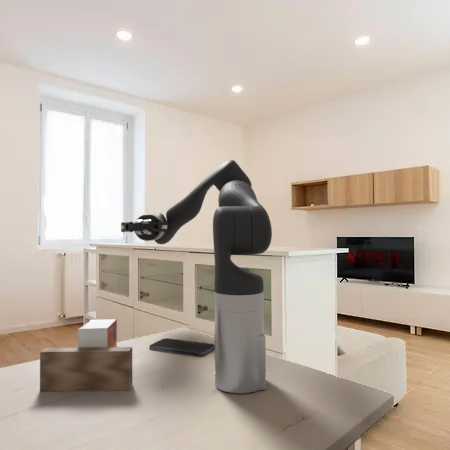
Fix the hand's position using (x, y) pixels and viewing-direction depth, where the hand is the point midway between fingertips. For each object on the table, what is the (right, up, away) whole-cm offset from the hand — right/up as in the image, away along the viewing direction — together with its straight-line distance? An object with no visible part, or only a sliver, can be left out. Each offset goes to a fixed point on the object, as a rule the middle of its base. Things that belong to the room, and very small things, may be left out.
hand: (136, 226), depth 91 cm
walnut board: (-4, -29, -23) cm, 38 cm away
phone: (+11, -31, 0) cm, 33 cm away
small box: (-3, -30, -18) cm, 35 cm away
